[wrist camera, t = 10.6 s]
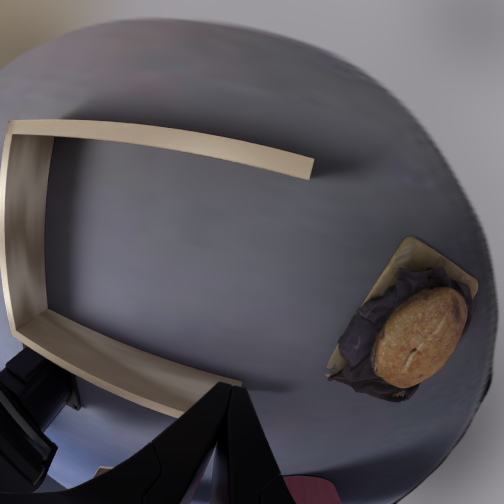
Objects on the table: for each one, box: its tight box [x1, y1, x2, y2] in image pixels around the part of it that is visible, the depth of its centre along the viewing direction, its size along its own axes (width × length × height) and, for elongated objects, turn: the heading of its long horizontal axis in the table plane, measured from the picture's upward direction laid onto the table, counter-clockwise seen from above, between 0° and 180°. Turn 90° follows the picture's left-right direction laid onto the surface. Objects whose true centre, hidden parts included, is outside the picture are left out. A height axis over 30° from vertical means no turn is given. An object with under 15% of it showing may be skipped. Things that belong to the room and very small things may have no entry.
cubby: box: [0, 120, 314, 418], centre depth 14 cm, size 15×17×4 cm
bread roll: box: [325, 236, 479, 402], centre depth 14 cm, size 11×8×4 cm
